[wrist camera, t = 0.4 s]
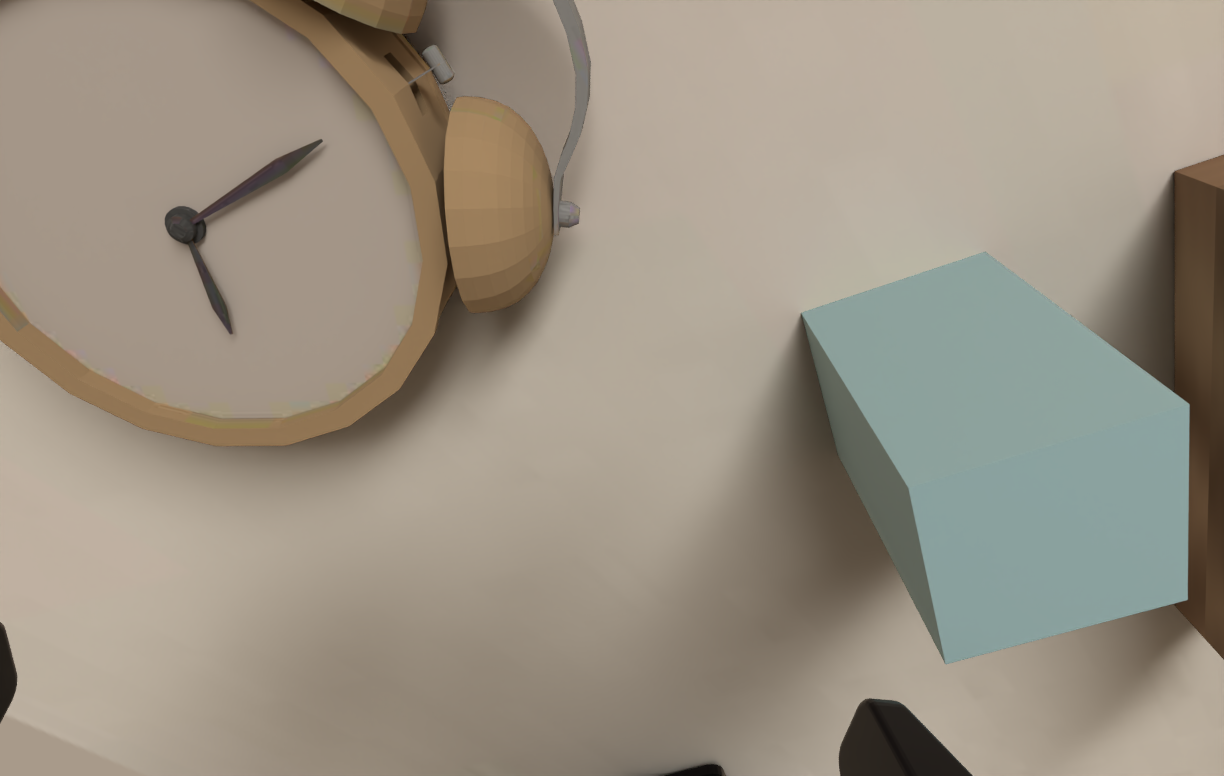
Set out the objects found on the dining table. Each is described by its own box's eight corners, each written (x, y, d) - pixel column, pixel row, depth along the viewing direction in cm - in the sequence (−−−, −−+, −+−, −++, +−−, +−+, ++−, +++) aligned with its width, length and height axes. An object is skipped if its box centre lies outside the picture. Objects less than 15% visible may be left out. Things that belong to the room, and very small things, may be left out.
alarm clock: (-242, 126, 16) (309, -408, 10) (-44, 69, 20) (426, -335, 14) (172, 512, 21) (689, 289, 15) (262, 404, 25) (696, 197, 19)
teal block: (1004, 403, 23) (1187, 599, 16) (838, 455, 24) (945, 664, 17) (984, 251, 21) (1189, 404, 14) (801, 312, 22) (908, 487, 15)
